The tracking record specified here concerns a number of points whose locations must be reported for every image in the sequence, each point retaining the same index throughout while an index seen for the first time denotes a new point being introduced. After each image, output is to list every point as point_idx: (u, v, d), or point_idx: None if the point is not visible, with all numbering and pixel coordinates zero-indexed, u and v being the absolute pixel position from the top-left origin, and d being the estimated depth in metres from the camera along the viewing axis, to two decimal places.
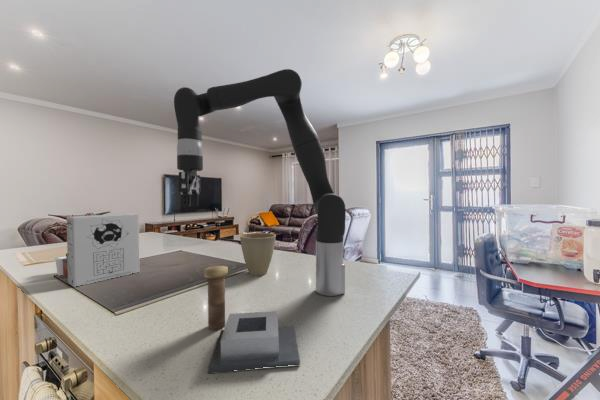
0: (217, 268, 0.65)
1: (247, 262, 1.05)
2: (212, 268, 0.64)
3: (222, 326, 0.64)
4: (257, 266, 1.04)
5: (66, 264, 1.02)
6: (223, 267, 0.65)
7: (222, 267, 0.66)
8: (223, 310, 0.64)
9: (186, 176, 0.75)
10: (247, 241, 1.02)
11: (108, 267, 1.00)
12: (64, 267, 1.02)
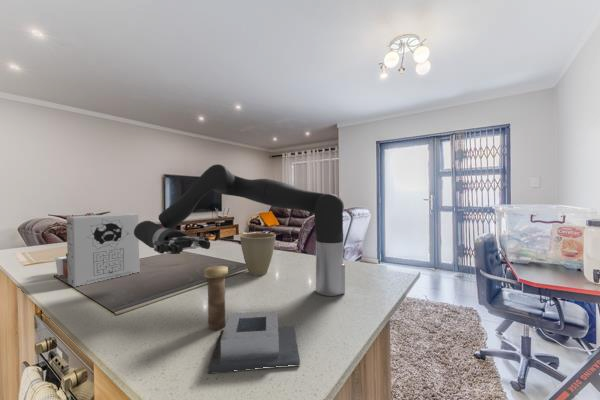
0: (217, 268, 0.65)
1: (247, 262, 1.05)
2: (213, 268, 0.64)
3: (222, 326, 0.64)
4: (257, 266, 1.04)
5: (66, 264, 1.02)
6: (223, 267, 0.65)
7: (222, 267, 0.66)
8: (223, 310, 0.64)
9: (155, 243, 0.72)
10: (247, 241, 1.02)
11: (108, 267, 1.00)
12: (64, 267, 1.02)
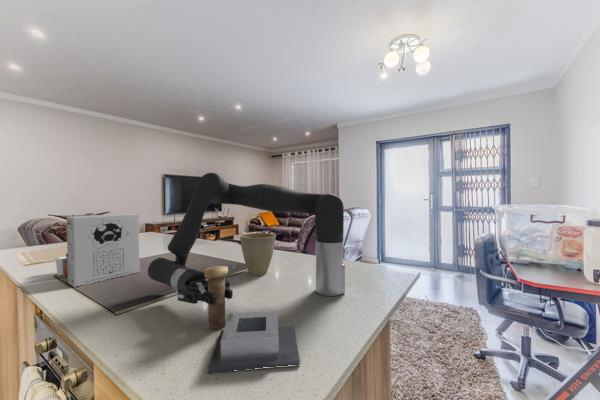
0: (217, 268, 0.65)
1: (247, 262, 1.05)
2: (213, 268, 0.64)
3: (222, 326, 0.64)
4: (257, 266, 1.04)
5: (66, 264, 1.02)
6: (223, 267, 0.65)
7: (222, 267, 0.66)
8: (223, 310, 0.64)
9: (180, 292, 0.63)
10: (247, 241, 1.02)
11: (108, 267, 1.00)
12: (64, 267, 1.02)
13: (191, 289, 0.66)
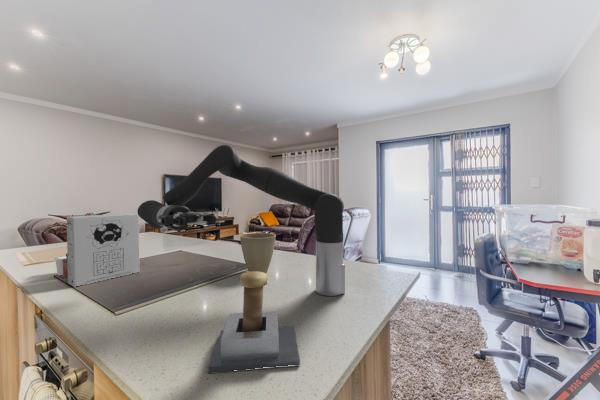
0: (255, 275, 0.55)
1: (247, 262, 1.05)
2: (250, 275, 0.55)
3: None
4: (257, 266, 1.04)
5: (66, 264, 1.02)
6: (261, 273, 0.56)
7: (259, 273, 0.56)
8: (260, 324, 0.55)
9: (159, 216, 0.70)
10: (247, 241, 1.02)
11: (108, 267, 1.00)
12: (64, 267, 1.02)
13: (171, 217, 0.72)
